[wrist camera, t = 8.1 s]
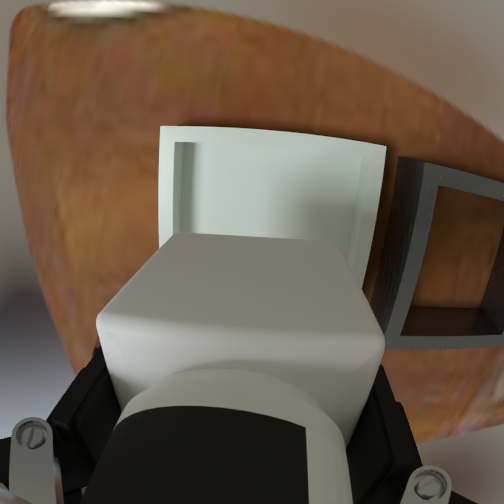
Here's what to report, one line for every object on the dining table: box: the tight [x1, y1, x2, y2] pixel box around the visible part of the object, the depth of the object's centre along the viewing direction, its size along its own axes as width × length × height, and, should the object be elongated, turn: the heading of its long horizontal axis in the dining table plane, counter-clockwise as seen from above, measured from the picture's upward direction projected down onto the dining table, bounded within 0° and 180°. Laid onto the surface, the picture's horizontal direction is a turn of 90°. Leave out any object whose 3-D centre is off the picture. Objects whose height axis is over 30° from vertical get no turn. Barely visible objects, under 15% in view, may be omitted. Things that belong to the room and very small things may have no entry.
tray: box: [159, 126, 386, 289], centre depth 22 cm, size 14×16×3 cm
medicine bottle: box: [79, 232, 385, 504], centre depth 9 cm, size 7×7×12 cm
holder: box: [370, 156, 504, 349], centre depth 20 cm, size 13×13×4 cm
